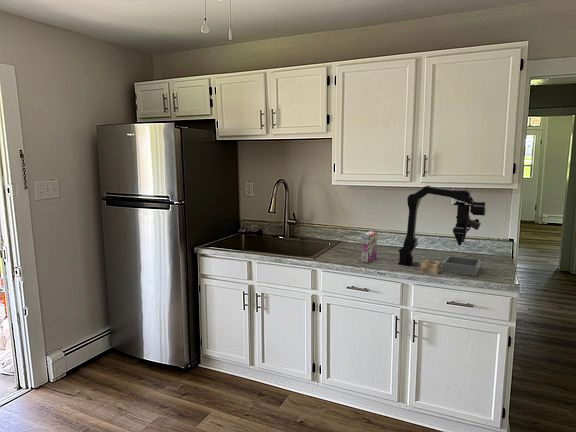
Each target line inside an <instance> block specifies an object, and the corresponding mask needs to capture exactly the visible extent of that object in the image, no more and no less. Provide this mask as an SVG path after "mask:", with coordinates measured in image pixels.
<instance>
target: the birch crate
mask: <svg viewBox="0 0 576 432" xmlns="http://www.w3.org/2000/svg"><path fill="white" fill-rule="evenodd" d="M440 271H441V261H435V260H426V259H422V260H421V261H420V262H419V272H421V273H427V274H435V275H438V274H439V273H440Z"/></svg>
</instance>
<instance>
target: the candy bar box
mask: <svg viewBox="0 0 576 432" xmlns="http://www.w3.org/2000/svg"><path fill="white" fill-rule="evenodd" d="M377 245H378V231H372V230H371V231H367V232H364V233H362V235H361V253H360V256H361V257H360V262H362V263H365V264H370V263H371V262H373V261H375V260H376V259H377Z"/></svg>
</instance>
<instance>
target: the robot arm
mask: <svg viewBox="0 0 576 432" xmlns="http://www.w3.org/2000/svg"><path fill="white" fill-rule="evenodd" d="M427 195H434V196H435V195H436V196H442V197H448V198H451V199H454V200H456V201H455V202H454V203H453V206H457V210H456V216H455V219H456V224H455V226H454V227H453V228H452V233H453V235H454V238H455V240H456V243H457V245H458V246H462V243H464V242H465V238H466V236H467V233H468V231H470V230H471V228H473V229H474V230H476V231H478V230H479V228H480V227H481V225H482V224H481V222H480V219H479V218H475V219H471V216H470V213H471V214H472V215H473V216H483V217H484V216H486V210H487V208H486V202H485V201H475V199H473V197H472V194H471V191H470V190H468V189H448V188H444V187H443V188H442V187H438V186H437V187H436V186H431V185H425V186H424V187H423V188H421V189H419V190H418V191H417V192H413V193H411V194H409V195H408V196H407V200H406V201H407V207H408V216H407V217H408V220H407V229H406V231H407V232H406V236H405V238H404V241H403V244H402V247H400V249H399V250H398V253H399V260H398V261H399V262H398V265H403V266H404V265H405V266H411V265H412V264H414V255H413V251H414V250H415V249H416V247H417V246H418V241H419V238H418V237H416V229H417V227H416V226H417V217H418V216H417V215H418V209H419V206H420V204H421V200H422V199H423V198H424V197H425V196H427Z"/></svg>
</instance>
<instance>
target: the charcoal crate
mask: <svg viewBox="0 0 576 432" xmlns="http://www.w3.org/2000/svg"><path fill="white" fill-rule="evenodd" d="M480 269H481V259H477V258H471V257H470V258H468V257H464V256H463V257H462V256H453V255H448V256H447V257H446V258H445V260H444V261H443V262H442V272H443V273H448V274H455V273H456V274H455V275H462V274H464V276H469V275H472V276H471V277H477V275H478V274H479V271H480Z"/></svg>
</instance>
